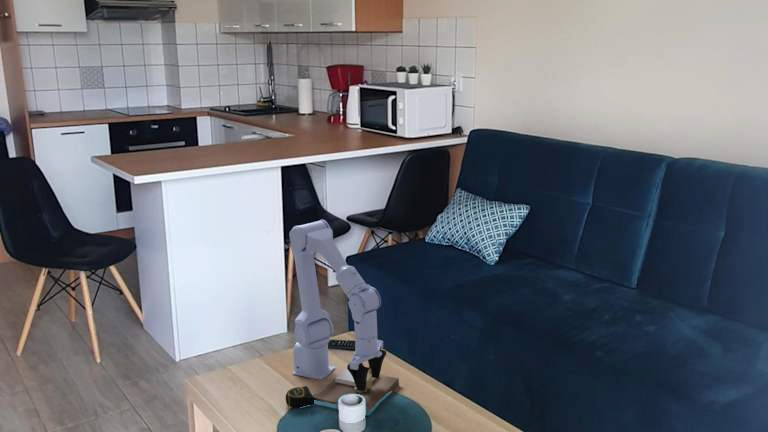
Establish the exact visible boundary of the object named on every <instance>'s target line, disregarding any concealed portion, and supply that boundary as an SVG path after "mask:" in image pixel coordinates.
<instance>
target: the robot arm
mask: <svg viewBox="0 0 768 432" xmlns="http://www.w3.org/2000/svg"><path fill="white" fill-rule="evenodd" d="M288 234H289V235H288V236H289V242H290V246H291V247H290V248H291V249H290V250H291V253H292V254H293V256H294V257H293V258H294V264H295V271H296V277H297V278H296V279H297V284H298V285H297V286H298V290H299V298H300V305H301V312H300V313H299V314H298V315H297V317H296V318H295V320H294V324H295V325H294V327H295V329H294V338H295V341H296V343H295V344H294V345H293V352H292V353H293V367H294V368H293V371H292V374H293V375H296V376H301V377H306V378H310V379H316V380H323V379H325V377H327V376H328V375H329V374H330V373H331V372H333V371H334V370H335V369H336V367H335V366H332V365H330V363H329V361H330V360H329V345H328V343H329V342H330V338H331V337H332V336H333V333H334V325H333V323H332V321H331V318H330V313H329V312H328V311H326V310H324V309H322V306H321V298H320V293H319V285H318V278H317V271H316V265H315V257H314V254H315V253H320V256H322V258H324V260H325V261H326V263H328V265H330V267H331V268H332V269H333V271H334V272H335V280H336V282H337V283H338V284H339V285H338V286H340V288H341V290H342V291H343V292H344V294H345V295H346V297H347V298H348V299H349V300H348V301H347V305H348V307H349V310H350V311H351V317H352V320H353V321H354V322H353V323H354V339H355V341H354V344H355V347H354V348H355V351H354V353H353V356H352V358H351V360H350V361H349V363H348V364H347V366H346V369H348V371H349V372H350V373H351V375H352V377H353V379H354V382H355V385H356V388H357V390H359V391H365V389H366V379H367V374H368V371H369V369H370V368H371V371H372V377H373V378H379V375H381V371H382V366H383V362H384V361H385V358H386V355H387V351H386V350H384V349H383V348H384V341H383V340H380V339H378V320H377V319H378V317H377V315H378V314H377V309H379V308H380V307H381V305H382V298H381V295H380V293H379V291H378V290H377V289H376V288H375V287H373V286H371V285H370V284H368V283H366V282H365V280H364V279H363V277H362V276H361V275H360V273H359V272H358V271H357V269H356V268H355V266H353V265H348V263H347V262H346V261H345V258H344V257H343V255H342V254H341V251H340V250H339V248H338V246H337V245H336V243H335V242H334V240H333V239H334V232H333V229H332V228H331V226H330V224H329V223H328V222H327V221H326V220H325V219H320V220H318V221H317V220H316V221H313V222H310V223H309V222H308V223H306V224H305V223H303V224H301V225H294V226H293V227H292V229H291V230H290V231H289V233H288ZM364 362H368V366H366V367H364V366H365V365H364V364H363V363H364Z"/></svg>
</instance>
